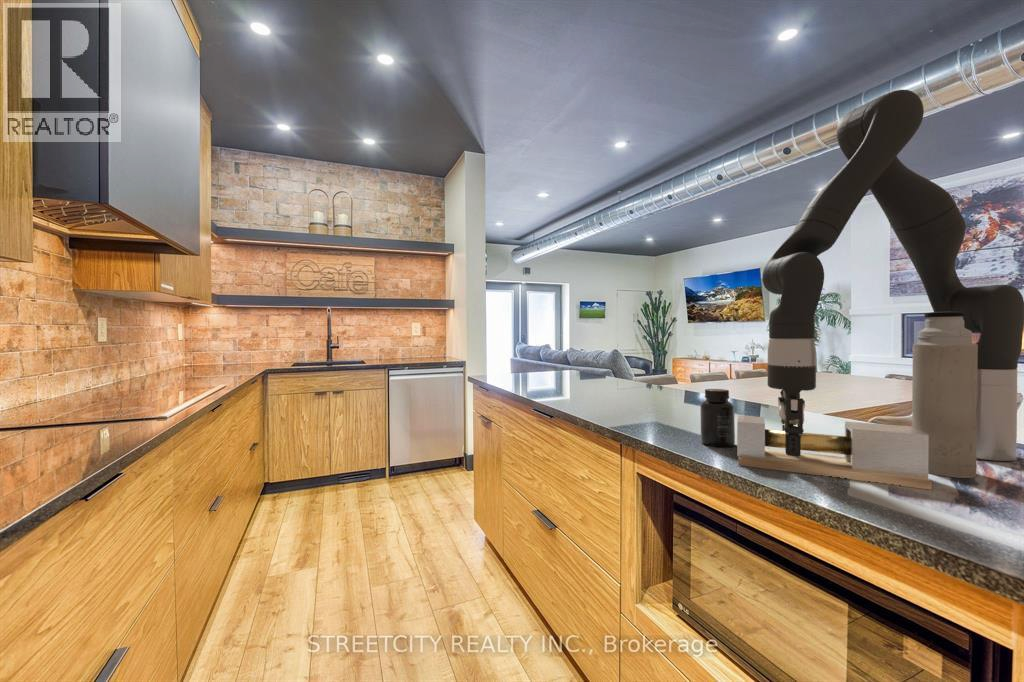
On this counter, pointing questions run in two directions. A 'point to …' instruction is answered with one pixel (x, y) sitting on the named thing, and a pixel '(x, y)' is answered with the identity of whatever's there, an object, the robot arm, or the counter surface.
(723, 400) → the supplement bottle
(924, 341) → the thermos bottle
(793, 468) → the base board
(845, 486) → the counter surface
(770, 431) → the tube
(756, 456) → the sleeve socket
